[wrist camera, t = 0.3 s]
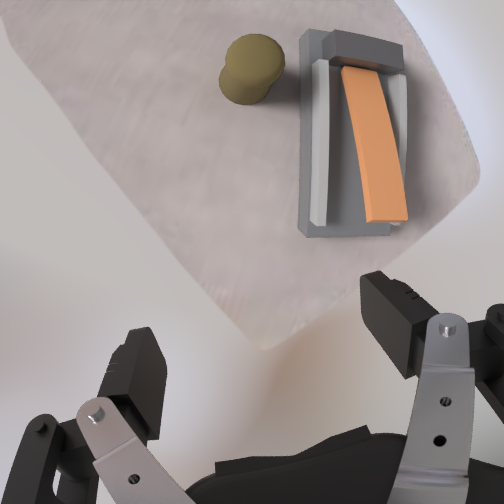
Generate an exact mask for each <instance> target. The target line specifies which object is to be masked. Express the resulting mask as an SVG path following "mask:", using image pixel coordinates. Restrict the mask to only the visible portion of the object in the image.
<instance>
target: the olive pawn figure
mask: <svg viewBox="0 0 504 504" xmlns="http://www.w3.org/2000/svg"><path fill="white" fill-rule="evenodd" d="M225 60H226V65H225V67H224V68H223V69H222V71H221V73H220V77H219V86H220V89H221V91H222V93H223V94H224V95H225V97H226V98H227V99H229V100H230V101H232V102H234V103H236V104H241V105H251V104H254V103H257V102H259V101H260V100H262V99H263V98H264V97H265V96H266V95H267V93H268V92H269V89H270V86H271V84H272V83H273V82H275V81H276V80H277V79H278V78H279V77H280V75H281V74H282V73H283V70H284V67H285V55H284V52H283V50H282V48H281V46H280V45H279V44H278V43H277V42H276V41H275V40H273V39H272V38H270V37H268V36H265V35H262V34H248V35H245V36H242V37H240V38H239V39H237V40H236V41H234V42H233V43H232V44H231V46H230V47H229V48H228V51H227V54H226V58H225Z"/></svg>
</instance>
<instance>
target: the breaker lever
mask: <svg viewBox="0 0 504 504" xmlns="http://www.w3.org/2000/svg"><path fill="white" fill-rule="evenodd" d="M341 75H342V80H343V84H344V88H345V93H346V97H347V102H348V106H349V111H350V116H351V121H352V126H353V131H354V137H355V142H356V148H357V154H358V160H359V167H360V173H361V180H362V187H363V195H364V203H365V211H366V220H367V223H374V222H405V221H407V220H408V214H407V206H406V199H405V192H404V186H403V180H402V174H401V169H400V163H399V158H398V153H397V148H396V143H395V139H394V134H393V130H392V126H391V122H390V117H389V113H388V110H387V106H386V102H385V98H384V95H383V91H382V88H381V84H380V81H379V77H378V74H377V72H376V71H371V70H366V69H361V68H355V67H349V66H344V67H343V69H342V70H341Z"/></svg>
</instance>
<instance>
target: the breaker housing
mask: <svg viewBox="0 0 504 504" xmlns="http://www.w3.org/2000/svg"><path fill="white" fill-rule="evenodd" d="M299 50H300V179H299V213H298V229H299V230H300V231H301V232H302V233H303V234H304V235H305V236H306V237H307V238H315V237H351V236H390V231H391V224H392V225H401V222H374V223H367V220H366V211H365V203H364V195H363V187H362V180H361V173H360V167H359V160H358V154H357V148H356V142H355V137H354V131H353V126H352V121H351V116H350V111H349V106H348V102H347V97H346V93H345V88H344V84H343V80H342V75H341V70H342V69H343V67H344V66H349V67H355V68H361V69H366V70H371V71H376V72H377V74H378V77H379V81H380V84H381V88H382V91H383V95H384V98H385V102H386V106H387V110H388V113H389V117H390V122H391V126H392V130H393V134H394V139H395V143H396V148H397V153H398V158H399V163H400V169H401V174H402V180H403V186H404V185H405V171H406V150H407V85H406V75H402V74H396V72H398V71H401V70H404V60H403V47H402V45H400V44H397V43H393V42H389V41H386V40H382V39H378V38H374V37H369V36H365V35H360V34H356V33H351V32H346V31H340V30H334V31H332V32H327V31H321V30H314V29H308V30H307V31H306V32H305V33H304V34H303V35H302V37H301V38H300V39H299Z"/></svg>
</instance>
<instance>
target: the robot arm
mask: <svg viewBox="0 0 504 504" xmlns="http://www.w3.org/2000/svg"><path fill="white" fill-rule="evenodd" d="M360 296H361V314H362V318H363V321H364V323H365V325H366V327H367V328H368V329H369V331H370V332H371V333H372V335H373V336H374V337H375V339H376V340H377V341H378V343H379V344H380V345H381V347H382V348H383V350H384V351H385V352H386V353H387V355H388V356H389V358H390V359H391V360H392V362H393V363H394V365H395V366H396V367H397V369H398V370H399V372H400V373H401V374H402V376H403V377H404V379H408V378H410V377H412V376H415V375H416V376H417V377H418V378H419V380H418V385H417V390H416V396H415V400H414V405H413V410H412V414H411V418H410V423H409V427H408V430H407V434H406V436H405V435H401V434H394V433H375V434H371V433H370V431H369V429H368V427H367V425H364V426H362V427H359V428H356V429H353V430H350V431H347V432H344V433H341V434H338V435H335V436H332V437H329V438H328V439H326V440H324V441H322V442H320V443H318V444H316V445H315V446H313V447H311V448H309V449H307V450H305V451H303V452H301V453H299V454H296V455H294V456H275V457H273V456H270V457H269V456H263V457H262V456H258V457H257V456H252V457H246V458H241V459H234V460H229V461H221V462H215V473H213V474H211V475H209V476H206V477H204V478H202V479H201V480H199V481H197V482H196V483H194V484H193V485H192V486H190V487H189V488H188V489H187V490H186V491H184V490H183V489H182V488H181V487H180V486H179V485H178V484H177V483H176V482H175V480H174V479H173V478H172V477H171V476H170V475H169V474H168V473H167V471H166V470H165V469H164V468H163V467H162V466H161V465H160V463H159V462H158V461H157V460H156V459H155V458H154V456H153V455H152V454H151V453H150V452H149V450H148V449H147V448H146V447H147V440H159V434H160V425H161V417H162V409H163V401H164V394H165V386H166V379H167V365H166V361H165V358H164V356H163V354H162V352H161V350H160V347H159V345H158V343H157V341H156V339H155V336H154V334H153V332H152V330H151V329H150V328H149V327H144V328H139V329H133V330H130V331H129V333H128V335H127V338H126V341H125V344H123V345H120V346H119V347H118V348H117V350H116V351H115V352H114V353H113V354H112V357H111V359H110V362H109V365H108V368H107V370H106V372H107V373H105V375H104V378H103V381H102V384H101V387H100V390H99V392H98V395H97V398H94V399H91V400H89V401H88V402H86V403H84V404H83V405H82V406H81V407H80V409H79V410H78V412H77V416H76V419H72V420H69V421H66V422H62V423H58V421H57V420H56V419H55V418H54V417H53V416H52V415H50V414H42V415H39V416H37V417H35V418H34V419H32V421H30V423H29V424H28V426H27V427H26V430H25V432H24V435H23V438H22V440H21V443H20V445H19V448H18V451H17V454H16V456H15V459H14V462H13V466H12V468H11V471H10V474H9V478H8V481H7V484H6V487H5V491H4V494H3V498H2V502H1V504H96V497H97V490H98V482H99V476H100V478H101V480H102V481H103V483H104V485H105V487H106V488H107V490H108V492H109V493H110V495H111V496H112V498H113V500H114V501H115V503H116V504H504V468H503V467H500V466H496V465H492V464H489V463H485V462H482V461H479V460H475V459H472V458H469V457H470V450H471V440H472V431H473V430H472V429H473V418H474V397H475V386H476V387H477V388H478V390H479V391H480V392H481V394H482V395H483V396H484V398H485V399H486V400H487V402H488V403H489V404H490V406H491V407H492V409H493V410H494V411H495V413H496V414H497V415H498V417H499V418H500V419H501V421H502V422H503V424H504V304H495V305H493V306H491V307H490V308H489V309H488V310H487V314H486V318H485V320H481V321H475V322H470V323H467V322H466V320H465V319H464V318H462V317H461V316H459V315H456V314H452V313H441V314H440V313H439V312H438V311H437V310H436V309H434V308H433V307H432V306H431V305H430V304H429V303H427V301H425V300H424V299H423V298H422V297H420V296H419V294H417V293H416V292H414V291H413V289H412V288H411V287H409V286H408V285H407V284H406V283H404V282H401V281H398V280H396V279H393V280H390V279H389V278H388V277H387V276H386V275H385V274H383V273H382V272H381V271H375V272H372V273H368V274H365V275H362V276H361V277H360ZM56 469H57V470H58V471H59V472H60V473H61V477H60V481H59V485H58V490H57V495H56V496H55V494H54V492H53V480H54V476H55V472H56Z"/></svg>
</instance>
